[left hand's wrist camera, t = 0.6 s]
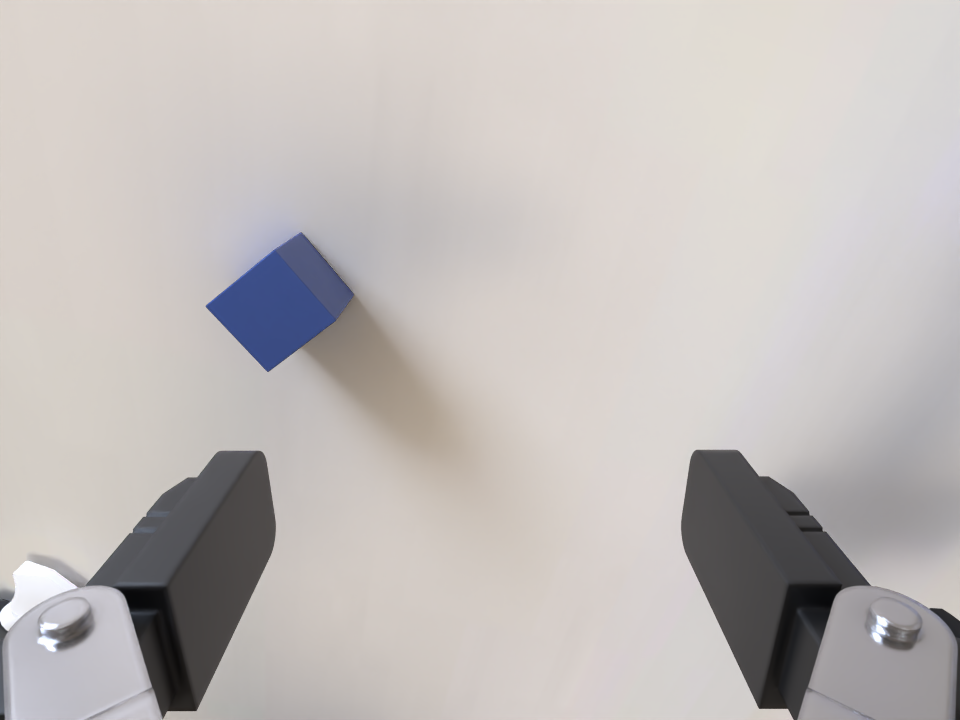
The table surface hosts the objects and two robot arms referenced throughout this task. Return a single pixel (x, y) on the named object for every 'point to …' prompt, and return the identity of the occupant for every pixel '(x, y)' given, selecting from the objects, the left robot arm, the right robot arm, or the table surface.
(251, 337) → the brick
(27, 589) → the spray bottle
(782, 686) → the left robot arm
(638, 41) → the table surface
